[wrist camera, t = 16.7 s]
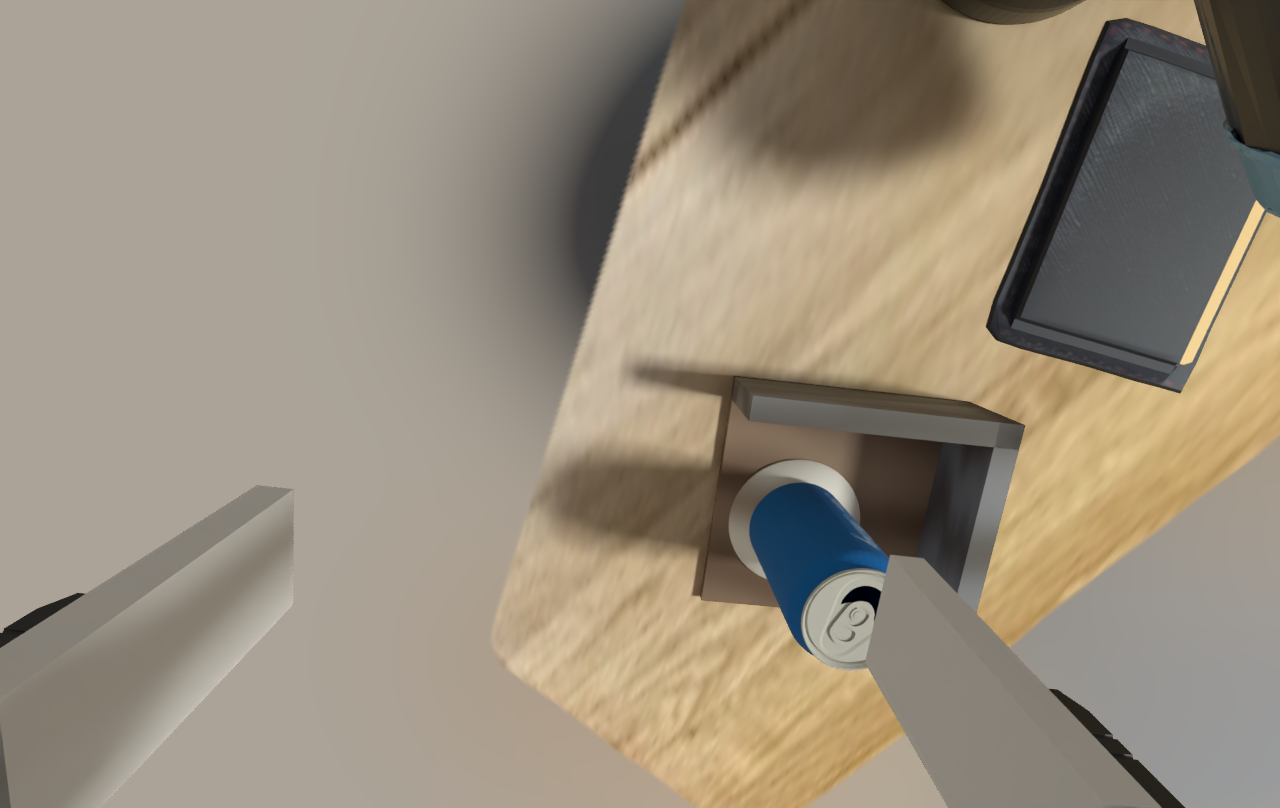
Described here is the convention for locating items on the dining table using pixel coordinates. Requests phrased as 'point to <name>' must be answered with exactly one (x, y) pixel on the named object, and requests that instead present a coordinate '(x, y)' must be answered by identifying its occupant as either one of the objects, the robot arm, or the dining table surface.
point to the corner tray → (863, 477)
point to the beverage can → (820, 571)
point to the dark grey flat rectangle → (1133, 217)
